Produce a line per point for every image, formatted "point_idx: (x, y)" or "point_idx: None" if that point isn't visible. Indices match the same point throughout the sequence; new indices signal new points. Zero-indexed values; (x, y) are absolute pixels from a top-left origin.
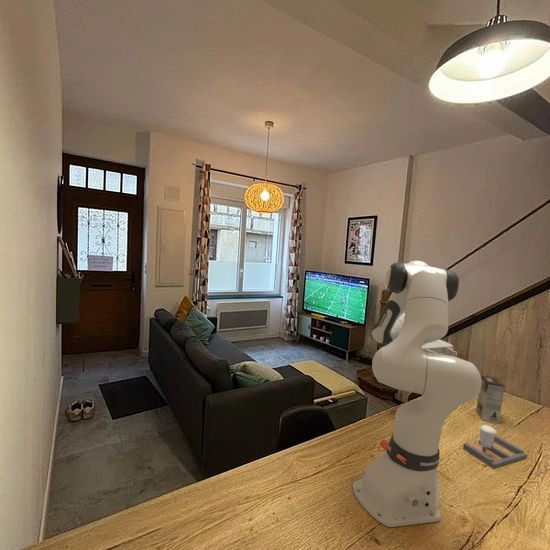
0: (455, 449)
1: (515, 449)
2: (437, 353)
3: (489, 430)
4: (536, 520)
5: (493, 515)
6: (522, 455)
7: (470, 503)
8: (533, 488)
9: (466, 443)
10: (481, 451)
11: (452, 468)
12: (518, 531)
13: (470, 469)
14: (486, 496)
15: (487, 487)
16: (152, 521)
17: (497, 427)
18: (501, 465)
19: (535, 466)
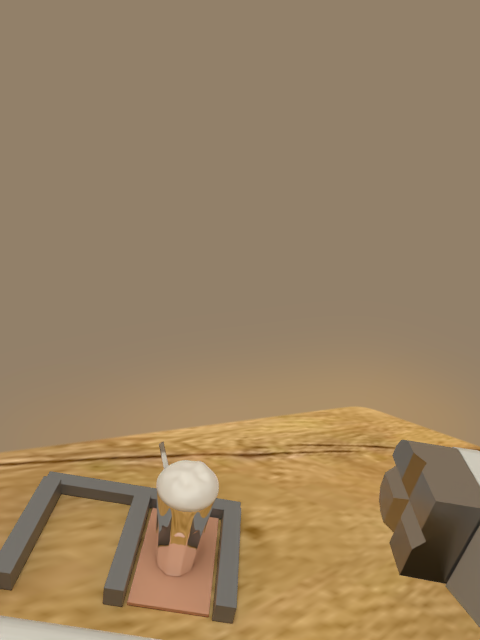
0: (274, 637)
1: (53, 496)
2: (467, 449)
3: (208, 469)
4: (321, 419)
5: None
6: (76, 477)
7: None
8: (218, 440)
9: (221, 602)
10: (196, 557)
11: (388, 574)
12: (384, 428)
13: (325, 543)
14: (373, 481)
15: (341, 490)
16: None
17: (161, 452)
18: None
19: (88, 457)
